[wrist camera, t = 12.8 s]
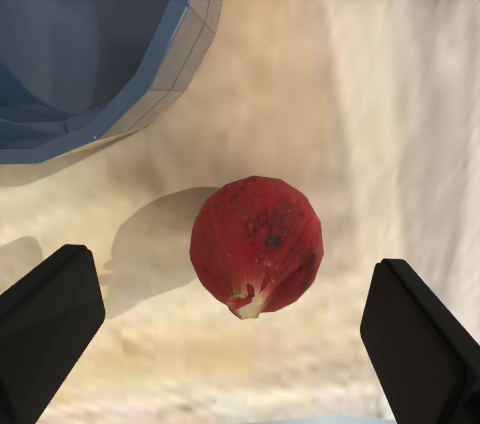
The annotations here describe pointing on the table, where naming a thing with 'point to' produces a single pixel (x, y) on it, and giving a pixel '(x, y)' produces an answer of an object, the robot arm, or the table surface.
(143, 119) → the bowl
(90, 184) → the table surface
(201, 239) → the onion
